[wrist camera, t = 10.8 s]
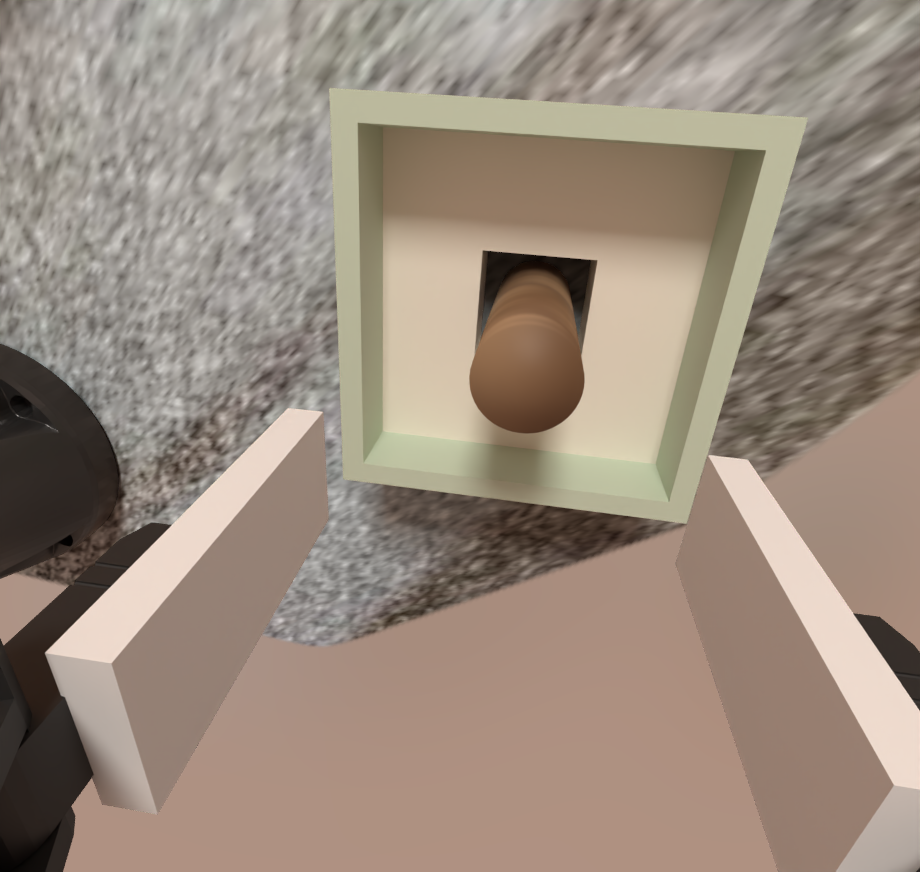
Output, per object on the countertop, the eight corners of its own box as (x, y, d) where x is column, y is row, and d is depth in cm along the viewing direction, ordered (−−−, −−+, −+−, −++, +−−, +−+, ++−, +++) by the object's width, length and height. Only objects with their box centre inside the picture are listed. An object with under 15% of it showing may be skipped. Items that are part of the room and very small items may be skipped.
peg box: (379, 422, 33) (343, 479, 27) (378, 103, 25) (329, 87, 20) (660, 455, 31) (686, 523, 25) (745, 126, 24) (808, 117, 18)
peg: (495, 328, 29) (465, 426, 19) (501, 257, 28) (473, 320, 17) (564, 335, 29) (575, 439, 18) (575, 264, 27) (593, 331, 17)
